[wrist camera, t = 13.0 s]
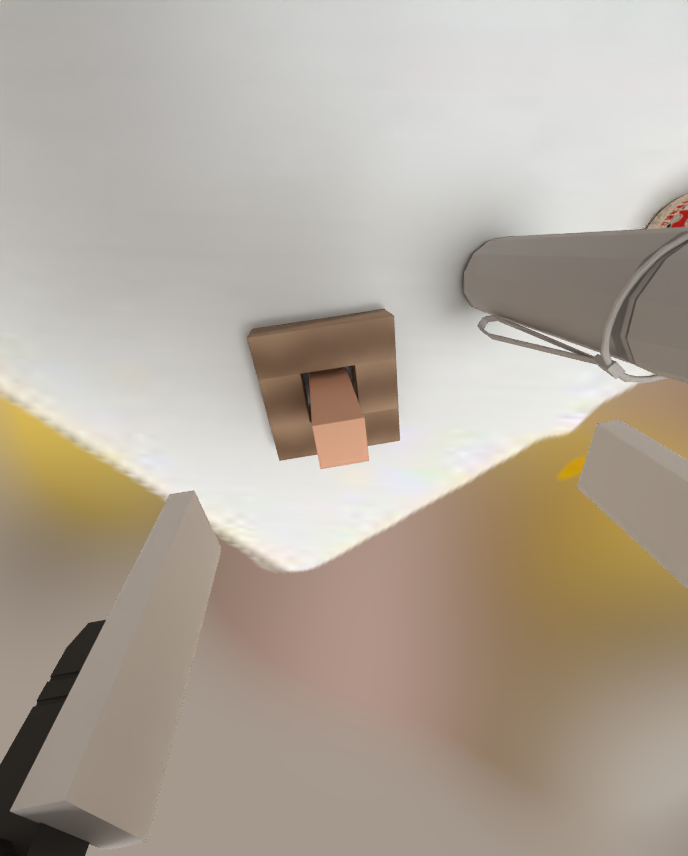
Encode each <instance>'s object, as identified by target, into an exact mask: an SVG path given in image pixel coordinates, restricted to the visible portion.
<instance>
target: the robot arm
mask: <svg viewBox="0 0 688 856" xmlns="http://www.w3.org/2000/svg"><path fill="white" fill-rule="evenodd" d="M577 488H578V489H579V490H580V491H581V492H582V493H583V494H584V495H585V496H587V497H588V498H589V499H590V500H591V501H592V502H593V503H594V504H595V505H596V506H597V507H599V508H600V509H601V510H602V511H603V512H604V513H605V514H606V515H607V516H608V517H610V519H612V520H613V521H614V522H615V523H616V524H617V525H618V526H619V527H620V528H622V529H623V530H624V531H625V532H626V533H627V534H628V535H629V536H630V537H631V538H632V539H633V540H634V541H636V542H637V543H638V544H639V545H640V546H641V547H642V548H643V549H644V550H645V551H646V552H647V553H649V554H650V555H651V556H652V557H653V558H654V559H655V560H656V561H657V562H658V563H660V564H661V565H662V566H663V567H664V568H665V569H666V570H667V571H668V572H669V573H670V574H671V575H673V576H674V577H675V578H676V579H677V580H678V581H679V582H680V583H681V584H682V585H683V586H685V587H686V588H687V589H688V459H686V458H684V457H682V456H681V455H679V454H677V453H676V452H674V451H672V450H670V449H669V448H667V447H665V446H664V445H662V444H660V443H658V442H656V441H655V440H653V439H652V438H650V437H648V436H646V435H645V434H643V433H641V432H640V431H638V430H636V429H634V428H633V427H631V426H629V425H627V424H626V423H624V422H622V421H621V420H615V421H609V422H603V423H597V425H596V428H595V431H594V435H593V438H592V441H591V444H590V447H589V451H588V454H587V457H586V460H585V463H584V466H583V470H582V473H581V476H580V480H579V483H578V486H577ZM220 552H221V547H220V545H219V543H218V540H217V538H216V536H215V534H214V532H213V530H212V527H211V525H210V523H209V521H208V519H207V517H206V515H205V512H204V510H203V508H202V506H201V504H200V502H199V500H198V497H197V495H196V493H195V491H194V490H193V491H187V492H181V493H175V494H170V495H169V497H168V499H167V501H166V503H165V505H164V507H163V509H162V511H161V513H160V515H159V517H158V519H157V520H156V522H155V525H154V526H153V528H152V530H151V532H150V534H149V537H148V538H147V540H146V542H145V544H144V546H143V548H142V550H141V552H140V554H139V556H138V558H137V560H136V562H135V564H134V566H133V568H132V570H131V572H130V574H129V576H128V578H127V580H126V582H125V584H124V586H123V588H122V590H121V592H120V594H119V596H118V598H117V600H116V602H115V604H114V606H113V608H112V610H111V612H110V613H109V615H108V618H107V619H106V620H102V621H97V622H91V623H88V624H87V625H86V627H85V628H84V629H83V630H82V631H81V632H80V633H79V635H78V636H77V637H76V638H75V639H74V640H73V641H72V642H71V644H70V645H69V646H68V647H67V648H66V650H65V652H64V654H63V655H62V657H61V659H60V660H59V662H58V664H57V666H56V667H55V669H54V671H53V673H52V675H51V680H50V681H49V682H47V683H46V685H45V687H44V688H43V690H42V692H41V694H40V696H39V697H38V699H37V705H36V706H35V707H33V708H32V710H31V711H30V713H29V715H28V717H27V718H26V720H25V722H24V724H23V726H22V727H21V729H20V731H19V733H18V734H17V736H16V738H15V740H14V742H13V743H12V745H11V747H10V748H9V750H8V752H7V754H6V756H5V757H4V759H3V761H2V763H1V764H0V856H85V854H86V851H87V848H88V845H89V844H91V845H94V846H96V847H98V848H101V849H103V850H109V849H114V848H119V847H124V846H129V845H134V844H139V843H144V842H147V841H148V837H149V832H150V829H151V824H152V821H153V817H154V813H155V809H156V805H157V801H158V797H159V793H160V789H161V785H162V781H163V777H164V773H165V770H166V766H167V762H168V758H169V754H170V750H171V746H172V741H173V738H174V734H175V730H176V726H177V722H178V718H179V714H180V710H181V706H182V703H183V698H184V695H185V691H186V687H187V683H188V679H189V675H190V671H191V667H192V662H193V659H194V655H195V651H196V647H197V643H198V639H199V635H200V631H201V628H202V624H203V620H204V616H205V611H206V608H207V604H208V600H209V596H210V592H211V588H212V584H213V580H214V576H215V572H216V568H217V564H218V561H219V556H220Z"/></svg>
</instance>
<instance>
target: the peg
mask: <svg viewBox="0 0 688 856" xmlns="http://www.w3.org/2000/svg"><path fill="white" fill-rule="evenodd" d="M309 386H310V401H311V416H312V428H313V433H314V438H315V443H316V448H317V453H318V459H319V464H320V469H324V468H330V467H336V466H342V465H348V464H354V463H359V462H365V461H369V455H368V446H367V436H366V427H365V418H364V415H363V412H362V410H361V407H360V404H359V402H358V399H357V396H356V394H355V391H354V388H353V386H352V383H351V381H350V378H349V375H348V373H347V370H346V367H339V368H333V369H327V370H320V371H314V372H309Z"/></svg>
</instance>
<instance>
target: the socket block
mask: <svg viewBox="0 0 688 856" xmlns="http://www.w3.org/2000/svg"><path fill="white" fill-rule="evenodd" d="M247 340H248V343H249V347H250V351H251V355H252V359H253V362H254V366H255V370H256V374H257V377H258V381H259V385H260V389H261V393H262V396H263V400H264V404H265V408H266V411H267V415H268V419H269V423H270V426H271V430H272V434H273V438H274V442H275V445H276V449H277V453H278V457H279V460H280V461H281V460H287V459H293V458H299V457H305V456H311V455H317V454H318V453H317V448H316V443H315V438H314V433H313V428H312V416H311V407H309V405H308V400H307V395H306V390H305V384H304V379H303V374H302V373H308V372H314V371H320V370H327V369H333V368H339V367H346V366H351V367H352V376H353V384H354V391H355V394H356V396H357V399H358V402H359V404H360V407H361V410H362V412H363V415H364V418H365V427H366V436H367V446H370V445H376V444H382V443H388V442H394V441H400V432H399V412H398V391H397V370H396V349H395V328H394V316H393V315H392V314H391V313H389V312H388V311H386V310H385V309H382V310H376V311H369V312H362V313H356V314H349V315H342V316H336V317H329V318H322V319H316V320H309V321H303V322H296V323H289V324H283V325H276V326H269V327H263V328H256V329H252V331H251V332H250V334H249V336H248V338H247Z"/></svg>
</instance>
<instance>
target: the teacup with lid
mask: <svg viewBox="0 0 688 856" xmlns="http://www.w3.org/2000/svg"><path fill="white" fill-rule="evenodd" d="M676 227H688V194H687V195H684V196H682V197H680V198H678V199H676V200H674V201H673V202H671V203H670V204H669V205H667V206H666V207H665V208H664V209H663V210H662V211H661V212H660V213H659V214H658V215H657V216H656V217H655V218H654V219H653V221H652V222H651V223H650V225H649V226H648V228H647V229H658V228H676Z"/></svg>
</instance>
